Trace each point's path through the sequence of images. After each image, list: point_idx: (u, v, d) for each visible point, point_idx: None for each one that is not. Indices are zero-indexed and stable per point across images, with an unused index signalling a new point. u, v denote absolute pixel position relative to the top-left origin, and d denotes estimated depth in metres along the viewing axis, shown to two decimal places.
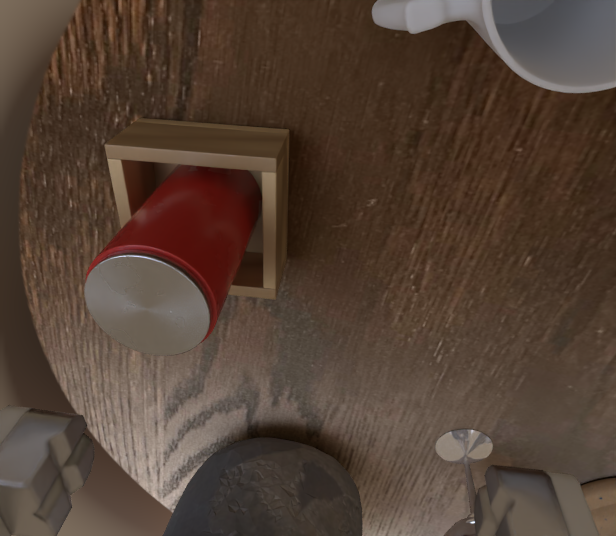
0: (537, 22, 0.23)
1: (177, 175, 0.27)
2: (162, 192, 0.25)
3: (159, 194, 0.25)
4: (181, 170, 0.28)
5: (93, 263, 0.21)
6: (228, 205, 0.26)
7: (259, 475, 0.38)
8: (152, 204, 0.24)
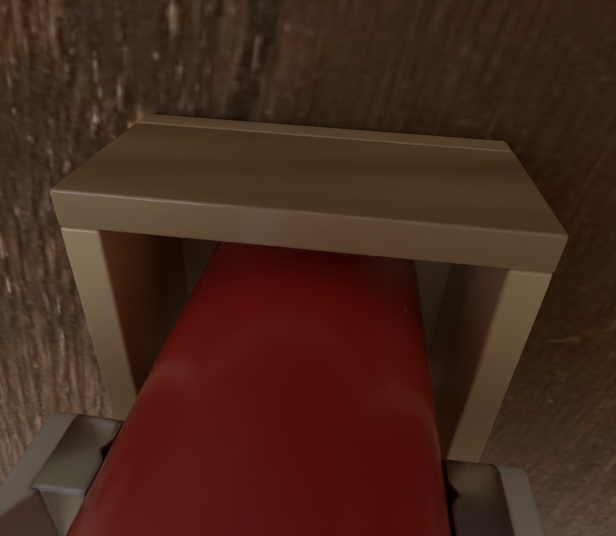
0: None
1: (251, 267, 0.10)
2: (222, 338, 0.08)
3: (214, 346, 0.08)
4: (257, 249, 0.11)
5: None
6: (407, 365, 0.09)
7: None
8: (200, 404, 0.07)
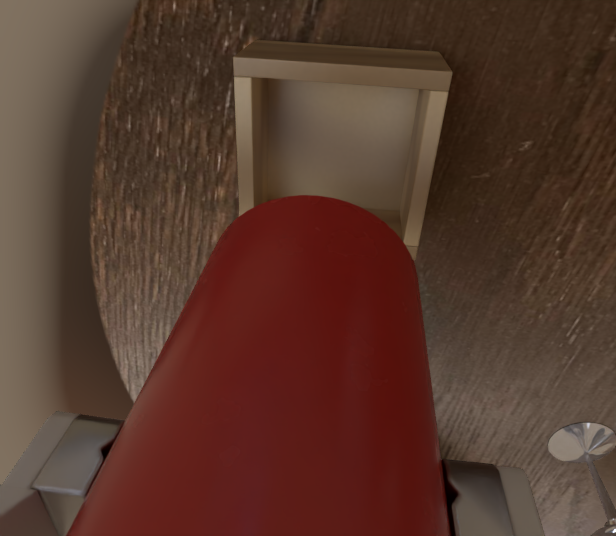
0: None
1: (251, 267, 0.10)
2: (222, 338, 0.08)
3: (214, 346, 0.08)
4: (258, 249, 0.11)
5: None
6: (407, 364, 0.09)
7: None
8: (200, 404, 0.07)
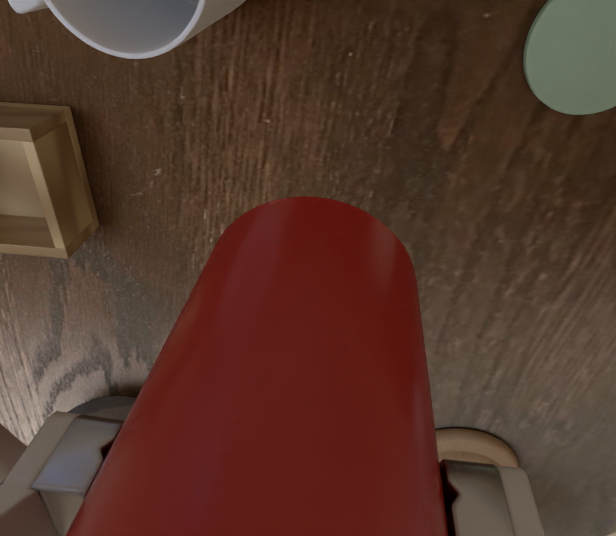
0: None
1: (250, 269, 0.10)
2: (221, 340, 0.08)
3: (212, 348, 0.08)
4: (256, 251, 0.11)
5: None
6: (405, 366, 0.09)
7: None
8: (198, 407, 0.07)
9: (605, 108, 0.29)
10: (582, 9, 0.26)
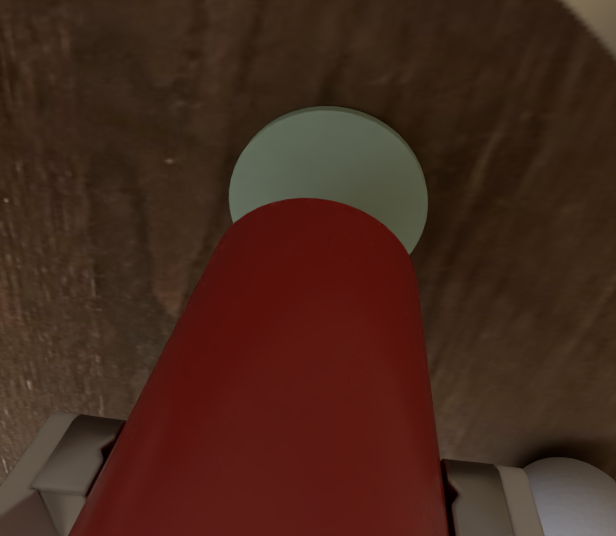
0: None
1: (251, 270, 0.10)
2: (222, 342, 0.08)
3: (213, 350, 0.08)
4: (257, 252, 0.11)
5: None
6: (406, 368, 0.09)
7: None
8: (200, 409, 0.07)
9: None
10: (289, 163, 0.18)
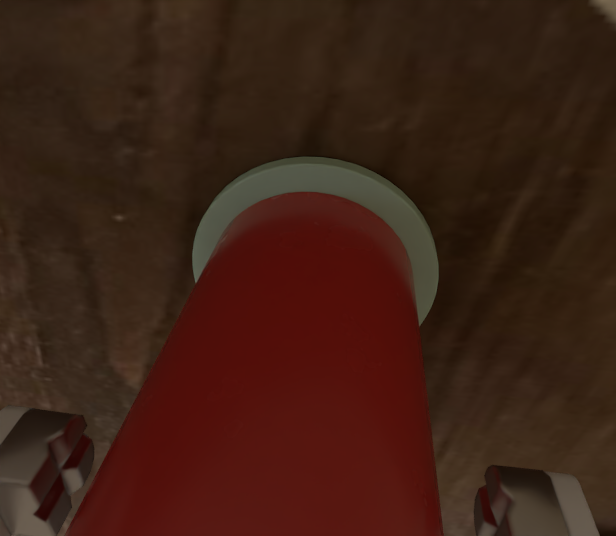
0: None
1: (253, 259, 0.11)
2: (226, 324, 0.09)
3: (218, 331, 0.09)
4: (259, 242, 0.11)
5: None
6: (400, 350, 0.10)
7: None
8: (206, 383, 0.08)
9: None
10: None
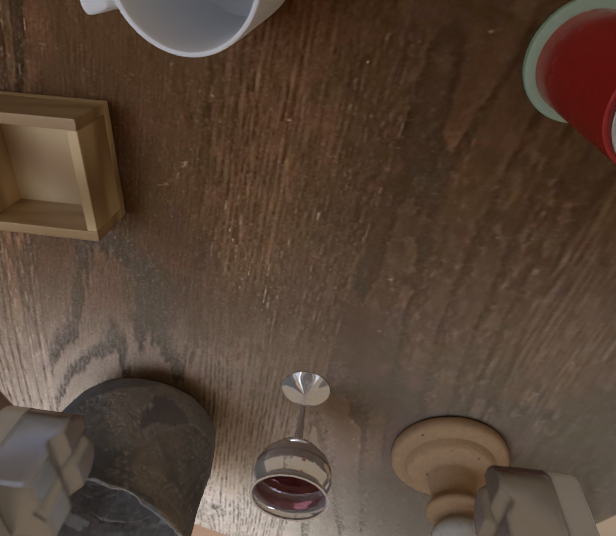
0: None
1: (611, 16, 0.26)
2: None
3: None
4: (605, 15, 0.27)
5: None
6: None
7: (111, 402, 0.44)
8: None
9: None
10: None
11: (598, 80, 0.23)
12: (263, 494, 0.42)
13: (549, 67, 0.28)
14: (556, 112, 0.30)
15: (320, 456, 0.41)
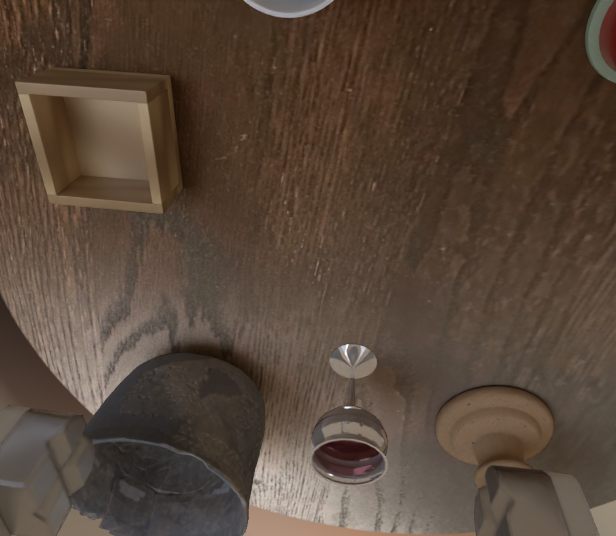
0: None
1: None
2: None
3: None
4: None
5: None
6: None
7: (168, 375, 0.45)
8: None
9: None
10: None
11: None
12: (320, 460, 0.44)
13: None
14: None
15: (377, 422, 0.42)
